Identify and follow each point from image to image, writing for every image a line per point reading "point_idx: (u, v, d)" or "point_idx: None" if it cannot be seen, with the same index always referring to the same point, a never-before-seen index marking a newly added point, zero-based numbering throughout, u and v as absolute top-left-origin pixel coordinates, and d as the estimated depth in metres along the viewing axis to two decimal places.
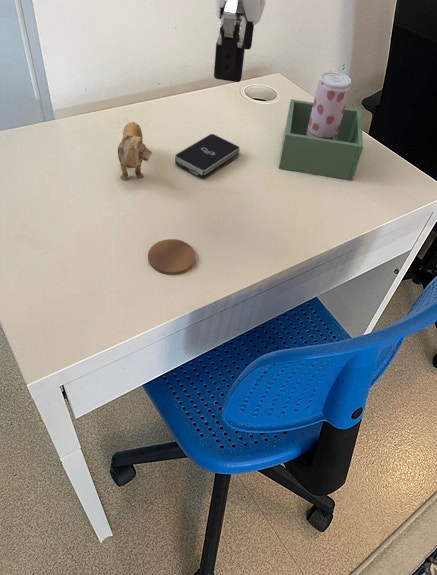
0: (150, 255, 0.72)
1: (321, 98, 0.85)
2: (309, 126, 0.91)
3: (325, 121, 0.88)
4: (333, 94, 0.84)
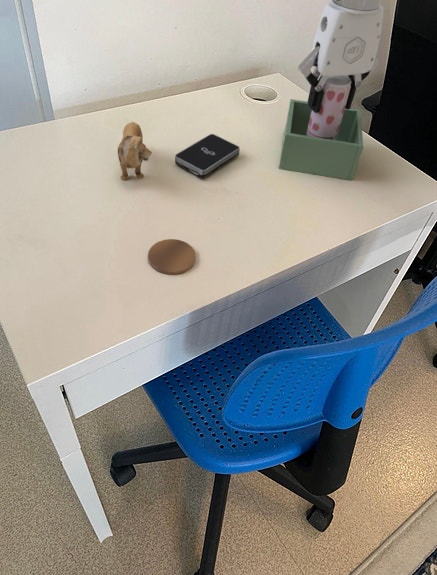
0: (150, 255, 0.72)
1: None
2: (309, 126, 0.91)
3: (325, 121, 0.88)
4: (333, 94, 0.84)
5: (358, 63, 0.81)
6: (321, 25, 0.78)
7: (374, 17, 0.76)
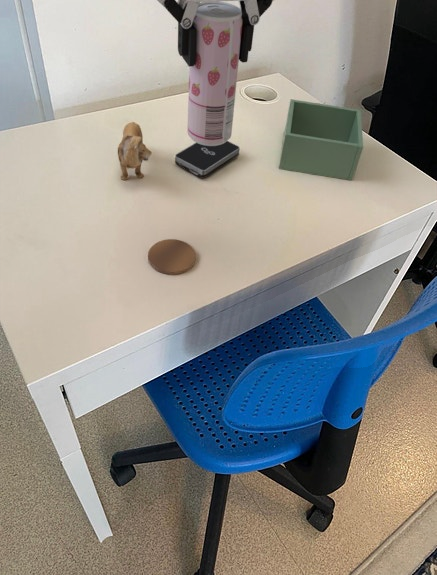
0: (150, 255, 0.72)
1: None
2: (189, 90, 0.59)
3: (206, 79, 0.56)
4: (211, 34, 0.52)
5: None
6: None
7: None
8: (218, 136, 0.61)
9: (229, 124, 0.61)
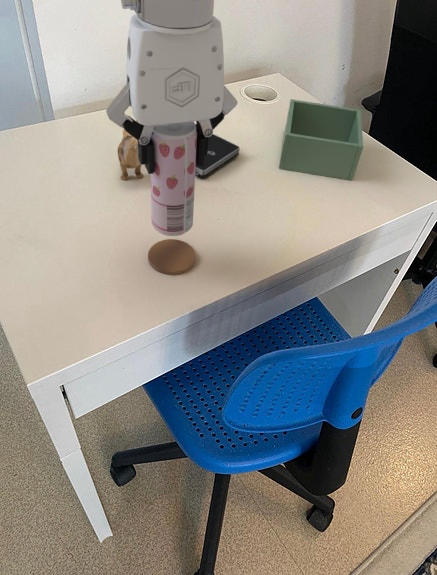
0: (150, 255, 0.72)
1: None
2: (151, 188, 0.64)
3: (165, 184, 0.60)
4: (167, 149, 0.57)
5: (195, 105, 0.54)
6: (128, 50, 0.51)
7: (204, 39, 0.49)
8: (179, 228, 0.66)
9: (189, 217, 0.66)
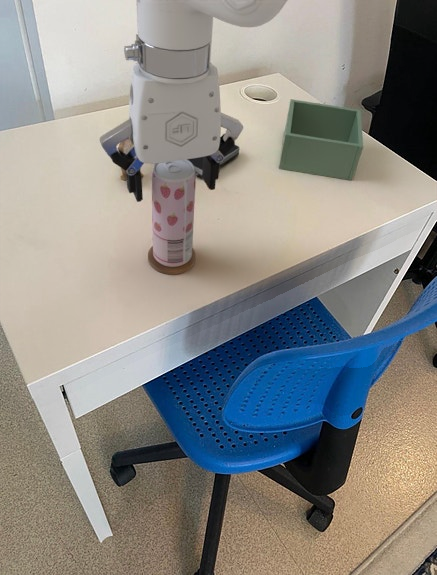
0: (150, 255, 0.72)
1: (155, 193, 0.63)
2: (152, 223, 0.68)
3: (166, 221, 0.65)
4: (168, 191, 0.61)
5: (194, 145, 0.57)
6: (131, 95, 0.54)
7: (202, 85, 0.52)
8: (179, 260, 0.70)
9: (188, 249, 0.70)
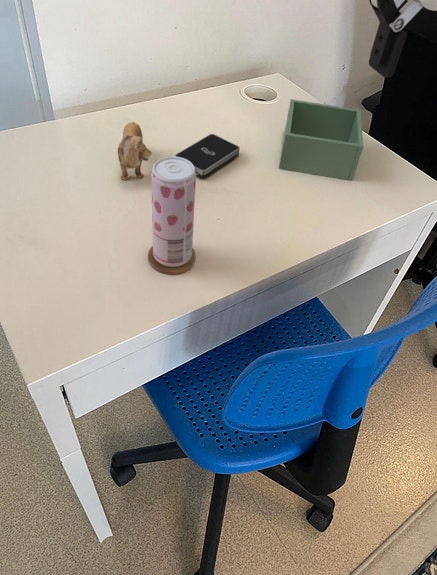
0: (150, 255, 0.72)
1: (155, 193, 0.63)
2: (152, 223, 0.68)
3: (166, 221, 0.65)
4: (168, 191, 0.61)
5: None
6: None
7: None
8: (179, 260, 0.70)
9: (188, 249, 0.70)
